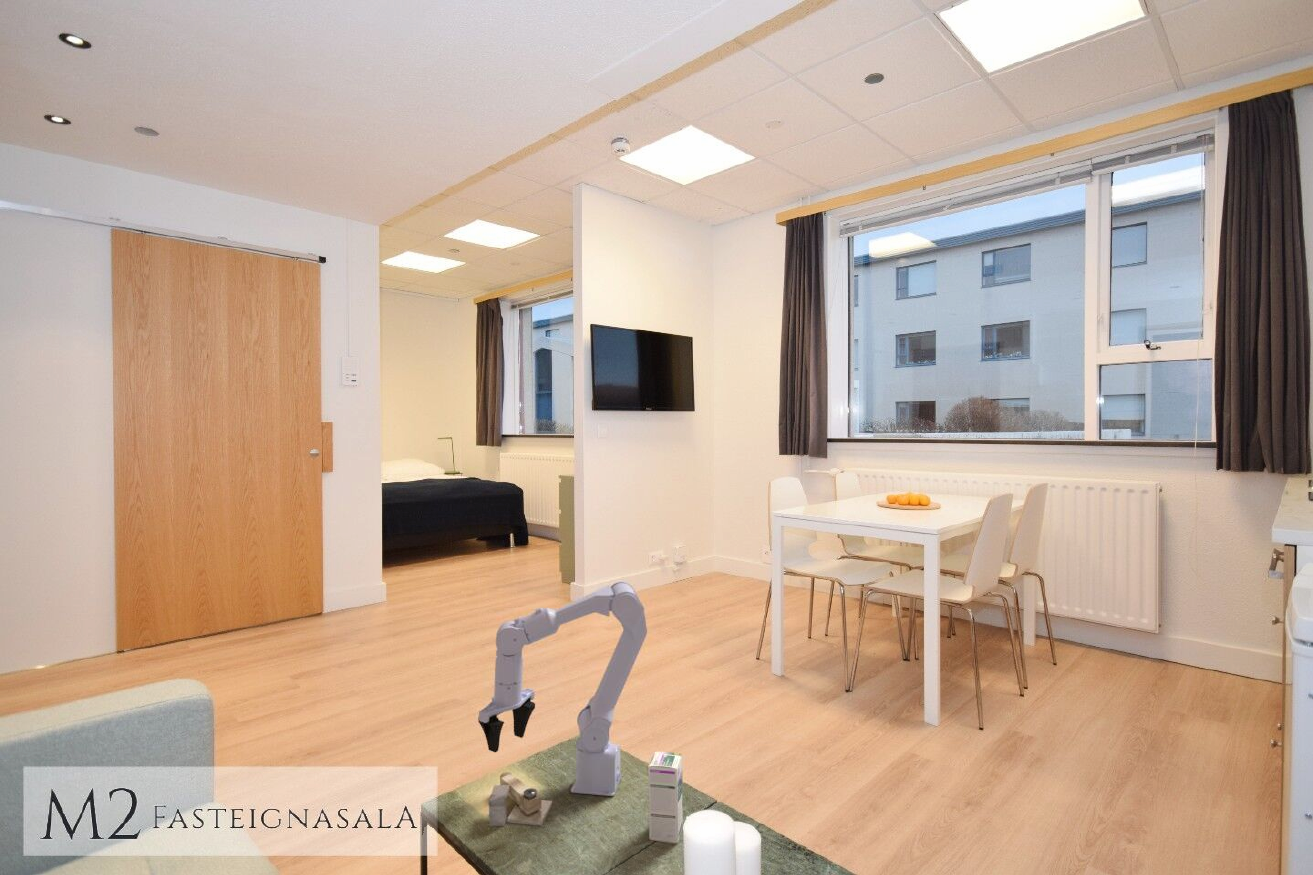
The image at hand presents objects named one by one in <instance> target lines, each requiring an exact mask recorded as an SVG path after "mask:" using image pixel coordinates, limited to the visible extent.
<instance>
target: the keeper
mask: <svg viewBox="0 0 1313 875" xmlns="http://www.w3.org/2000/svg"><path fill="white" fill-rule="evenodd" d="M508 793H509V785H499V784H498V785H497V784H496V785H493V788H492V791H491V795H490V797H489V800H488V813H489V815H488V819H489V820H488V822H489V823H488V824H489V825H488V826H489V827H505V826H506V823H507V800H508V797H509V796H508Z"/></svg>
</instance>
